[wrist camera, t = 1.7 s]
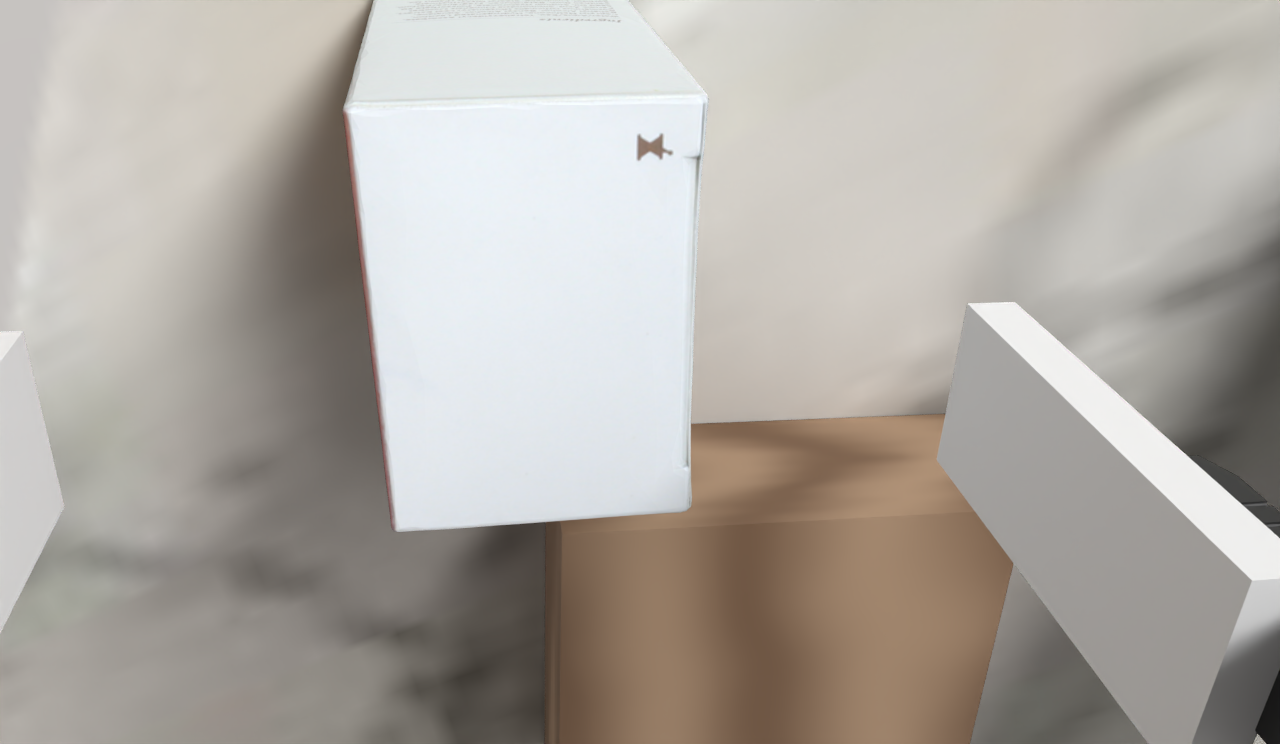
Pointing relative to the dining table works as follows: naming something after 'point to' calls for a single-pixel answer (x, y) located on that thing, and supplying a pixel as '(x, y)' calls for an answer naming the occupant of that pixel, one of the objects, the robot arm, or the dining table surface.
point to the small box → (527, 258)
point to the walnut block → (779, 597)
